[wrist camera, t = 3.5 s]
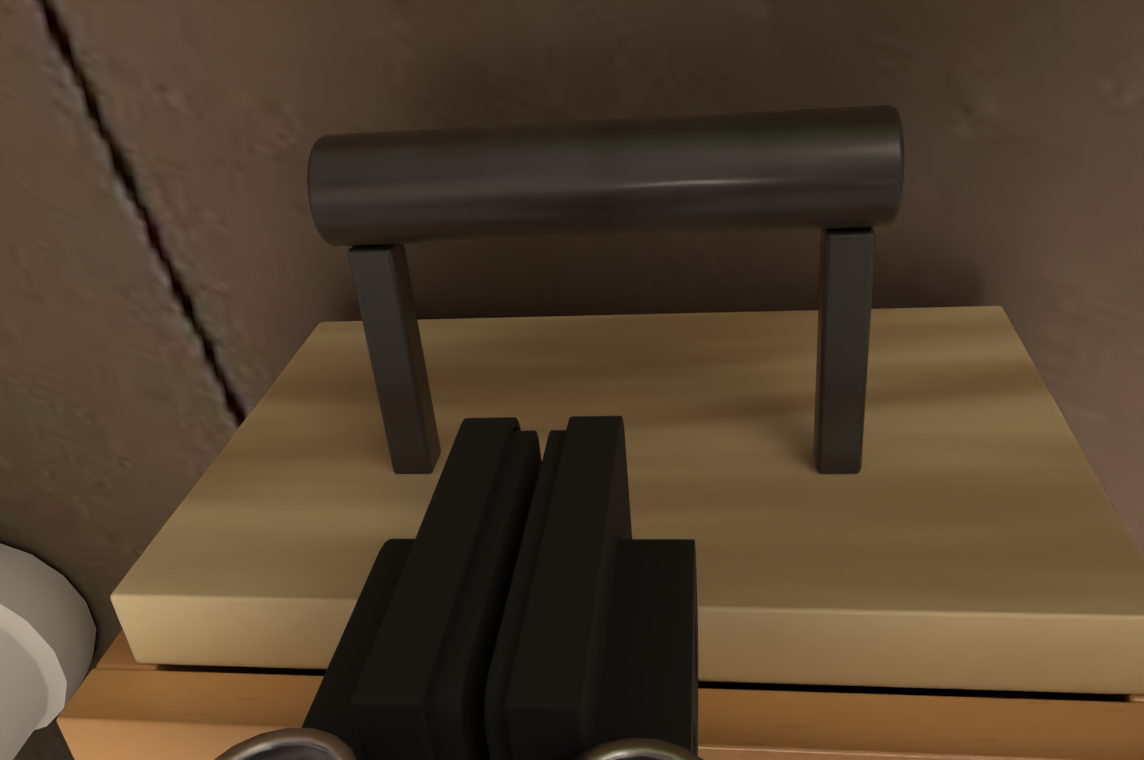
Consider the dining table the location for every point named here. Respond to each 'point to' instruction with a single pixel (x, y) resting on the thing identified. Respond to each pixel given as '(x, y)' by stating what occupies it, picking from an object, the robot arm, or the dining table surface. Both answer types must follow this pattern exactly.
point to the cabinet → (725, 719)
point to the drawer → (672, 426)
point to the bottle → (38, 646)
